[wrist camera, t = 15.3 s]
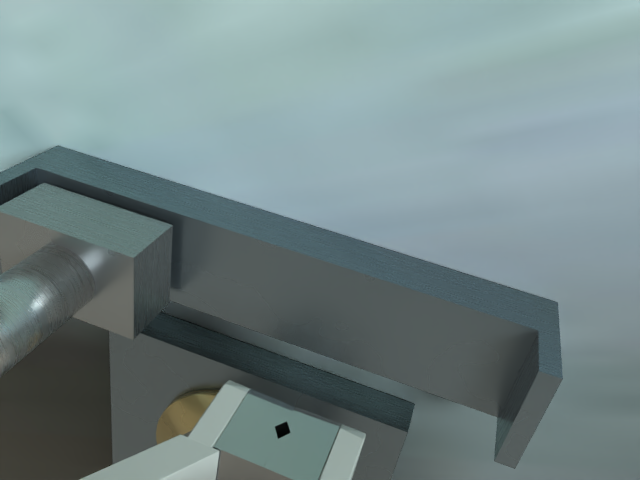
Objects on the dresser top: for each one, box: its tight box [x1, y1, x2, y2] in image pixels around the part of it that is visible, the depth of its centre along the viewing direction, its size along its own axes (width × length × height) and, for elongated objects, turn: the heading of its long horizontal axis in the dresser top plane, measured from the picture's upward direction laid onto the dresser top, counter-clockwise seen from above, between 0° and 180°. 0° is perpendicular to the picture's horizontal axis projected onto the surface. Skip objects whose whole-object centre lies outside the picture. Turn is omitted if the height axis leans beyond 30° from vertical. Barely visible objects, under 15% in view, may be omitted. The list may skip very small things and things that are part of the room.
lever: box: [0, 183, 173, 378], centre depth 13 cm, size 4×3×8 cm
